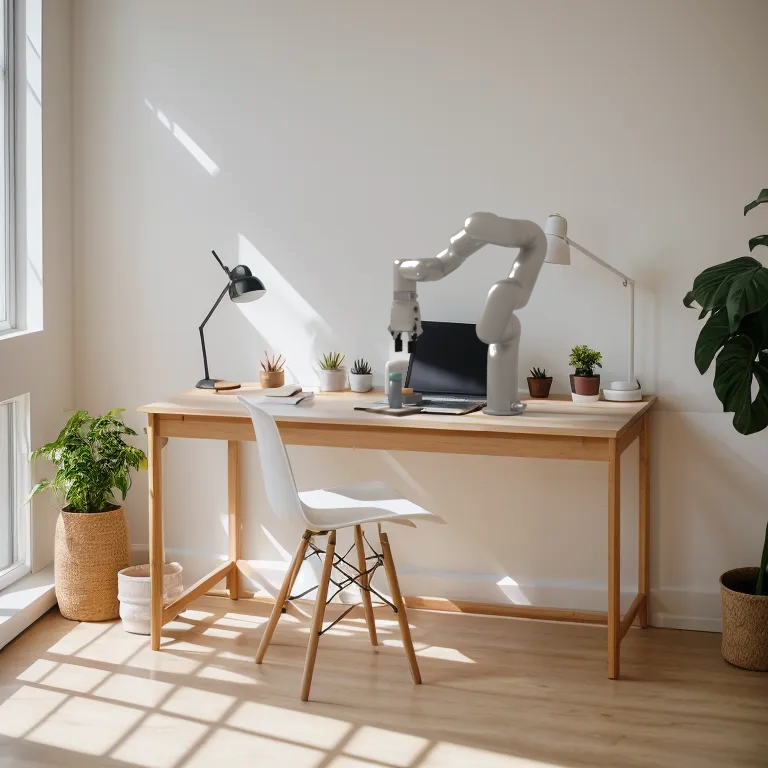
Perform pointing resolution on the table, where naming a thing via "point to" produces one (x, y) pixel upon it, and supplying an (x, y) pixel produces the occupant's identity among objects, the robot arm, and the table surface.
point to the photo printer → (395, 366)
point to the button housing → (411, 398)
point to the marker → (395, 390)
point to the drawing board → (394, 410)
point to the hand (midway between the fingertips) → (405, 351)
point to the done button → (407, 391)
